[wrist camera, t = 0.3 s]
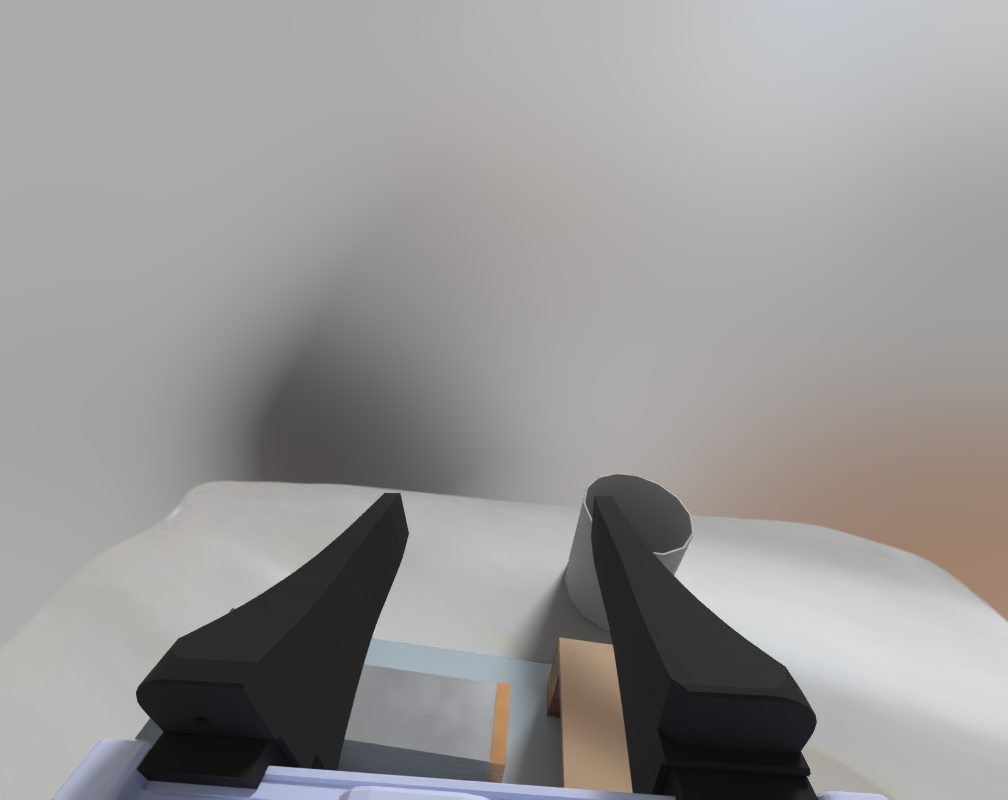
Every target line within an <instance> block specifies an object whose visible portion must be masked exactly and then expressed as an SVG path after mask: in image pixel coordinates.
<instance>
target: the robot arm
mask: <svg viewBox="0 0 1008 800" xmlns="http://www.w3.org/2000/svg"><path fill="white" fill-rule="evenodd" d="M408 535H409V531H408V527H407V522H406V517H405V513H404V508H403V503H402V499H401V494H400V493H384V494H383V495H382V496H381V497H380V498H379V499H378V500H377V501H376V502H375V503H374V504H373V505H372V506H371V507H370V508H369V509H367V510H366V511H365V512H364V513H363V514H362V515H361V516H360V517H359V518H358V519H357V520H356V521H355V522H354V523H353V524H352V525H351V526H350V527H349V528H347V529H346V530H345V531H344V532H343V533H342V534H341V535H340V536H339V537H337V538H336V539H335V540H334V541H333V542H332V543H331V544H329V545H328V546H327V547H326V548H325V549H324V550H322V551H321V552H320V553H319V554H318V555H316V556H315V557H314V558H312V559H311V560H310V561H309V562H307V563H306V564H305V565H303V566H302V567H301V568H299V569H298V570H297V571H295V572H294V573H292V574H291V575H290V576H288V577H287V578H285V579H284V580H282V581H280V582H279V583H277V584H276V585H274V586H273V587H271V588H270V589H268V590H267V591H265V592H264V593H262V594H261V595H259V596H257V597H256V598H254V599H252V600H251V601H249V602H247V603H246V604H244V605H242V606H240V607H239V608H237V609H235V610H233V611H232V612H230V613H228V614H226V615H224V616H222V617H221V618H219V619H217V620H215V621H213V622H211V623H209V624H207V625H205V626H203V627H201V628H199V629H197V630H195V631H193V632H191V633H189V634H187V635H185V636H183V637H181V638H179V639H178V640H177V641H176V642H175V643H174V644H173V646H172V647H171V648H170V649H169V650H168V652H167V653H166V654H165V655H164V656H163V658H162V659H161V660H160V661H159V662H158V664H157V665H156V666H155V667H154V668H153V670H152V671H151V672H150V673H149V674H148V676H147V677H146V678H145V679H144V680H143V682H142V683H141V684H140V685H139V686H138V689H137V691H136V697H137V701H138V703H139V705H140V706H141V708H142V709H143V710H144V711H145V712H146V713H147V714H148V716H149V717H150V718H151V719H152V720H153V721H154V722H155V723H156V724H157V725H158V726H159V728H160V729H161V730H162V731H163V733H162V734H161V736H160V737H159V739H158V740H157V741H156V743H155V744H154V746H152V745H150V744H148V743H145V742H140V741H130V740H116V739H103V740H101V741H99V742H98V744H97V745H96V746H95V747H94V748H93V750H92V751H91V752H90V753H89V755H88V756H87V757H86V758H85V759H84V761H83V762H82V763H81V764H80V766H79V767H78V768H77V769H76V770H75V772H74V773H73V774H72V775H71V776H70V778H69V779H68V780H67V781H66V783H65V784H64V785H63V786H62V787H61V789H60V790H59V791H58V792H57V794H56V795H55V796H54V797H53V798H52V800H888V799H887V798H886V797H884V796H882V795H880V794H867V793H854V792H840V791H827V792H822V793H819V794H817V795H816V794H815V792H814V790H813V788H812V786H811V784H810V782H809V780H808V778H807V776H809V775H810V774H811V773H810V768H809V766H808V764H807V763H806V761H805V758H804V756H803V755H802V752H801V750H802V749H803V747H804V746H805V744H806V743H807V741H808V740H809V738H810V737H811V735H812V734H813V732H814V729H815V726H816V723H817V721H816V716H815V713H814V711H813V710H812V708H811V706H810V704H809V703H808V701H807V699H806V697H805V696H804V694H803V692H802V691H801V689H800V688H799V686H798V684H797V683H796V682H795V680H794V679H793V677H792V676H791V674H790V673H789V672H788V670H787V668H786V667H785V666H783V665H782V664H781V663H779V662H778V661H776V660H775V659H773V658H772V657H771V656H769V655H768V654H766V653H765V652H763V651H762V650H761V649H759V648H758V647H756V646H755V645H753V644H752V643H751V642H749V641H748V640H747V639H745V638H744V637H743V636H741V635H740V634H739V633H737V632H736V631H735V630H734V629H732V628H731V627H730V626H728V625H727V624H726V623H725V622H723V621H722V620H721V619H720V618H719V617H718V616H716V615H715V614H714V613H713V612H712V611H711V610H710V609H708V608H707V607H706V606H705V605H704V604H703V603H701V602H700V601H699V600H698V599H697V598H696V597H695V596H694V595H693V594H692V593H691V592H690V591H689V590H688V589H686V588H685V587H684V586H683V585H682V584H681V583H680V582H679V580H678V579H677V578H676V577H675V576H674V575H673V574H672V573H671V572H670V571H669V570H668V569H667V568H666V567H665V566H664V565H663V563H662V562H661V561H660V560H659V559H658V558H657V556H656V555H655V554H654V553H653V552H652V550H651V549H650V548H649V547H648V546H647V544H646V543H645V542H644V540H643V539H642V538H641V537H640V535H639V534H638V533H637V531H636V530H635V529H634V527H633V526H632V525H631V523H630V522H629V520H628V519H627V517H626V516H625V515H624V513H623V512H622V510H621V508H620V507H619V505H618V504H617V502H616V501H615V499H614V498H613V497H612V496H594V506H593V517H592V529H591V543H592V551H593V559H594V566H595V570H596V574H597V578H598V582H599V587H600V591H601V595H602V599H603V603H604V607H605V611H606V615H607V619H608V624H609V628H610V633H611V637H612V643H613V649H614V656H615V662H616V669H617V676H618V683H619V690H620V697H621V704H622V711H623V719H624V727H625V734H626V742H627V750H628V758H629V766H630V775H631V783H632V791H633V793H624V792H610V791H597V790H584V789H570V788H557V787H544V786H531V785H517V784H504V783H491V782H477V781H464V780H451V779H438V778H424V777H411V776H398V775H385V774H371V773H358V772H345V771H337V769H338V765H339V761H340V756H341V752H342V748H343V743H344V739H345V735H346V730H347V726H348V722H349V718H350V714H351V711H352V707H353V703H354V699H355V695H356V691H357V687H358V684H359V680H360V677H361V673H362V669H363V666H364V662H365V659H366V655H367V652H368V649H369V645H370V642H371V639H372V635H373V632H374V629H375V626H376V624H377V621H378V618H379V616H380V613H381V611H382V608H383V606H384V603H385V601H386V598H387V596H388V593H389V591H390V588H391V586H392V584H393V581H394V579H395V576H396V573H397V571H398V568H399V566H400V563H401V561H402V558H403V554H404V550H405V547H406V543H407V539H408Z"/></svg>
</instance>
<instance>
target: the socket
mask: <svg viewBox="0 0 1008 800" xmlns="http://www.w3.org/2000/svg"><path fill="white" fill-rule="evenodd" d="M547 715H549V716H555V717H560V724H561V757H562V785H561V788H570V789H584V790H597V791H610V792H624V793H633V791H632V783H631V775H630V766H629V758H628V750H627V742H626V734H625V727H624V719H623V711H622V704H621V697H620V690H619V683H618V676H617V669H616V662H615V656H614V649H613V645H610V644H603V643H596V642H589V641H582V640H574V639H567V638H560V637H559V641H558V645H557V648H556V652H555V656H554V659H553V663H552V667H551V671H550V674H549V678H548V682H547Z"/></svg>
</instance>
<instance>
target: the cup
mask: <svg viewBox="0 0 1008 800" xmlns="http://www.w3.org/2000/svg"><path fill="white" fill-rule="evenodd" d="M594 496H612V497H613V498H614V499H615V501H616V502H617V504H618V505H619V507H620V508H621V510H622V512H623V513H624V515H625V516H626V517H627V519H628V520H629V522H630V523H631V525H632V526H633V527H634V529H635V530H636V531H637V533H638V534H639V535H640V537H641V538H642V539H643V540H644V542H645V543H646V544H647V546H648V547H649V548H650V549H651V550H652V552H653V553H654V554H655V555H656V556H657V558H658V559H659V560H660V561H661V562H662V563H663V565H664V566H665V567H666V568H667V569H668V570H669V571H670V572H671V573H672V574H673V575H675V572H676V570H677V568H678V566H679V564H680V562H681V560H682V558H683V556H684V554H685V552H686V550H687V547H688V545H689V543H690V541H691V539H692V537H693V535H694V529H693V523H692V516H691V514H690V513H689V511H688V510H687V509H686V507H685V506H684V505H683V503H682V502H681V501H680V499H679V498H678V497H677V496H675V495H674V494H673V493H671V492H670V491H668V490H667V489H666V488H664V487H663V486H661V485H660V484H658V483H656V482H653V481H650V480H648V479H645V478H643V477H640V476H638V475H629V474H621V473H614V474H610V475H605V476H601V477H598V478H596V479H595V480H594V481H593V482H592V483H591V484H590V485H588V486H587V487H586V491H585V495H584V499H583V503H582V507H581V511H580V516H579V520H578V524H577V528H576V532H575V536H574V540H573V544H572V549H571V553H570V557H569V561H568V565H567V570H566V575H565V580H564V581H565V584H566V587H567V591H568V594H569V598H570V600H571V602H572V603H573V604H574V605H575V606H576V608H577V609H578V610H579V611H580V613H581V614H582V615H583V616H584V618H585V619H587V620H589V621H590V622H592V623H594V624H596V625H597V626H599V627H601V628H602V629H604V630H606V631H610V628H609V624H608V619H607V615H606V611H605V607H604V603H603V599H602V595H601V591H600V587H599V582H598V578H597V574H596V570H595V566H594V559H593V551H592V543H591V529H592V517H593V506H594Z"/></svg>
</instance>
